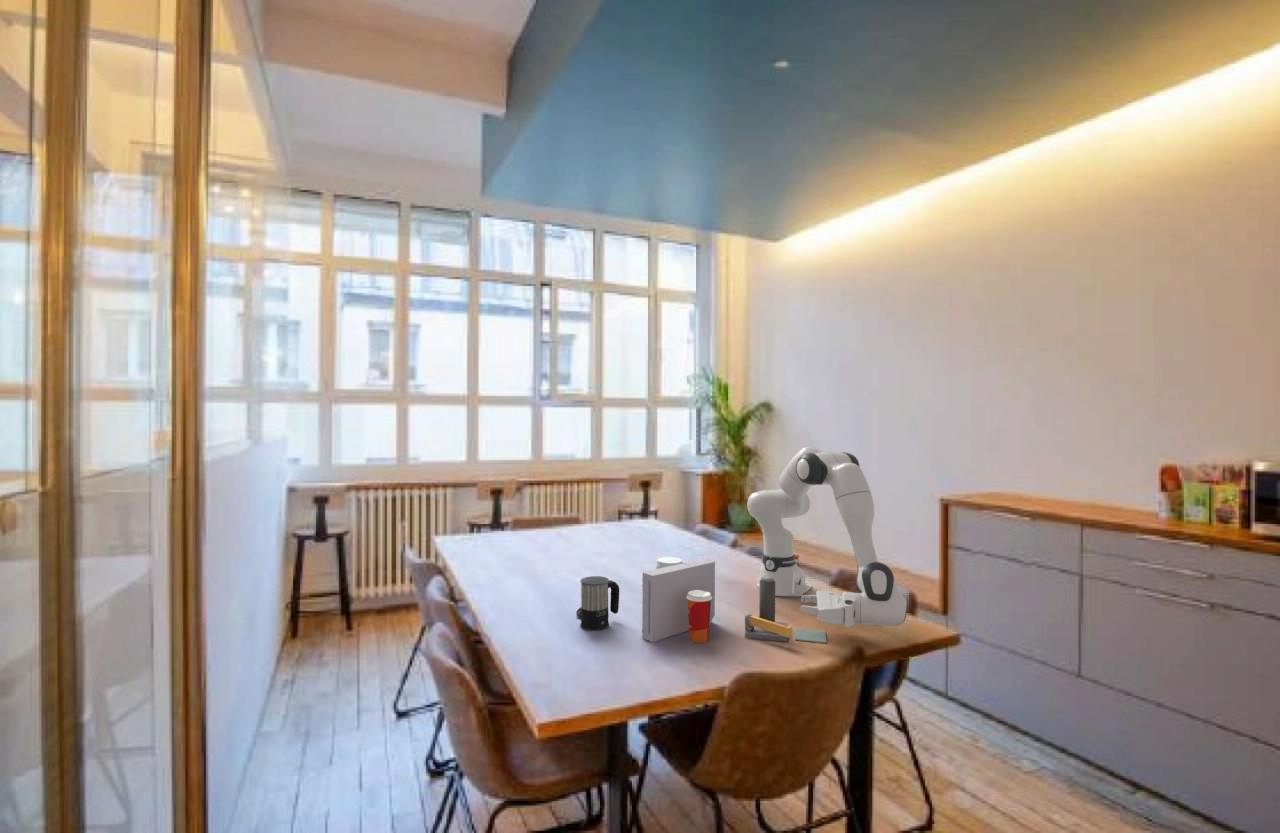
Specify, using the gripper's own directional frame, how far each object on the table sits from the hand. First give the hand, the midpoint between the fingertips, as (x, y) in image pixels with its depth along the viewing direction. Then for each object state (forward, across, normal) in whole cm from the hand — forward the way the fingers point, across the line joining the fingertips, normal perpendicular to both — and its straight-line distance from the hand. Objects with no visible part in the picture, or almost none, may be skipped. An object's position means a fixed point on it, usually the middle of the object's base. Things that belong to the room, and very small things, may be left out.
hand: (801, 603), depth 184 cm
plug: (+10, 0, +10) cm, 14 cm away
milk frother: (+66, +6, +10) cm, 67 cm away
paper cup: (+30, +12, +10) cm, 34 cm away
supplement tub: (+46, -23, +10) cm, 53 cm away
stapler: (+10, +7, +7) cm, 14 cm away
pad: (-3, 0, +10) cm, 10 cm away
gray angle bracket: (+10, 0, +10) cm, 14 cm away
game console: (+37, +5, +10) cm, 39 cm away
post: (+16, +4, +10) cm, 19 cm away
